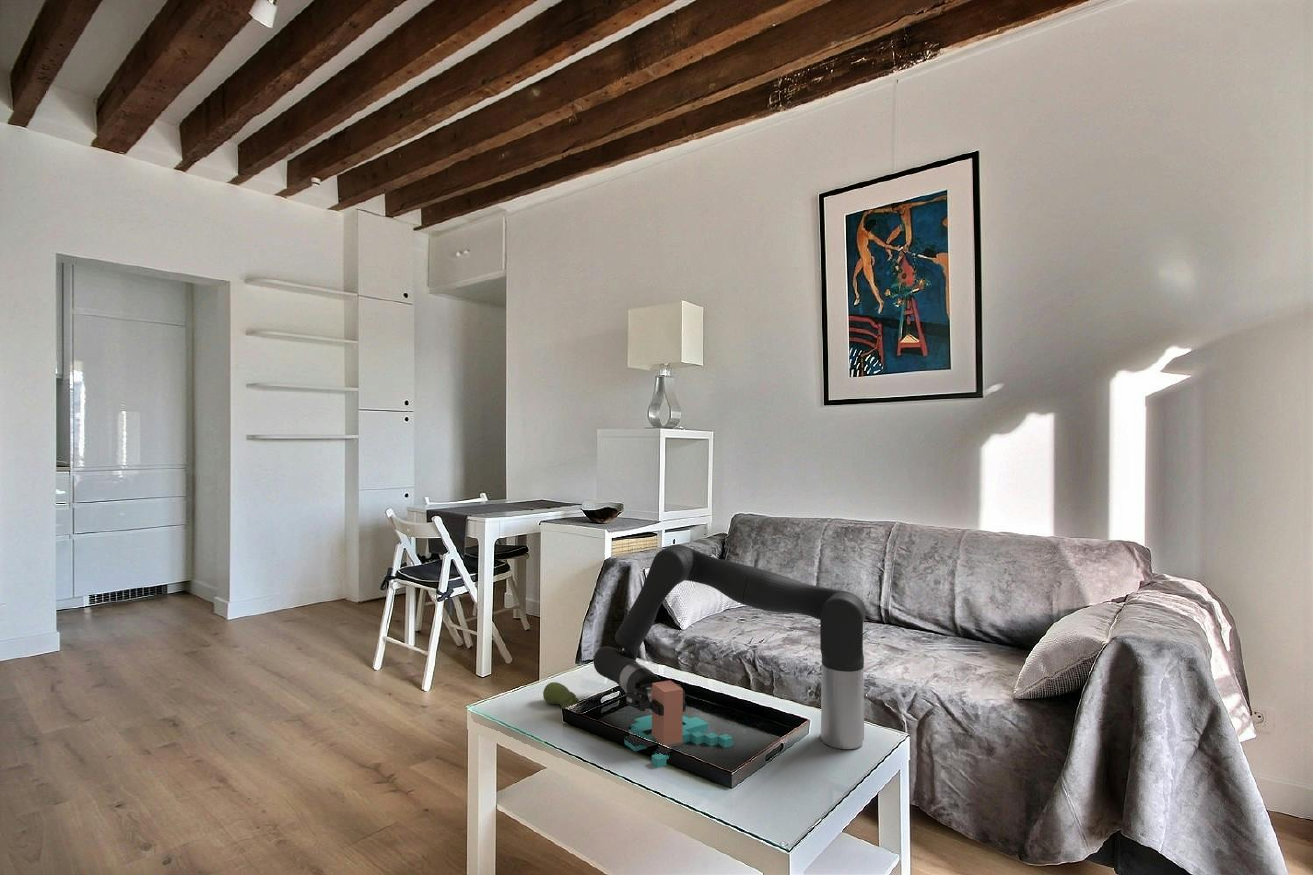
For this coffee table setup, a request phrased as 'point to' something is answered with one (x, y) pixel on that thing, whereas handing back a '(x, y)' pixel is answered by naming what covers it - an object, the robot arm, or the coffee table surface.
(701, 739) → the alien figure
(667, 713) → the block
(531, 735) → the coffee table surface
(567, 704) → the pear
